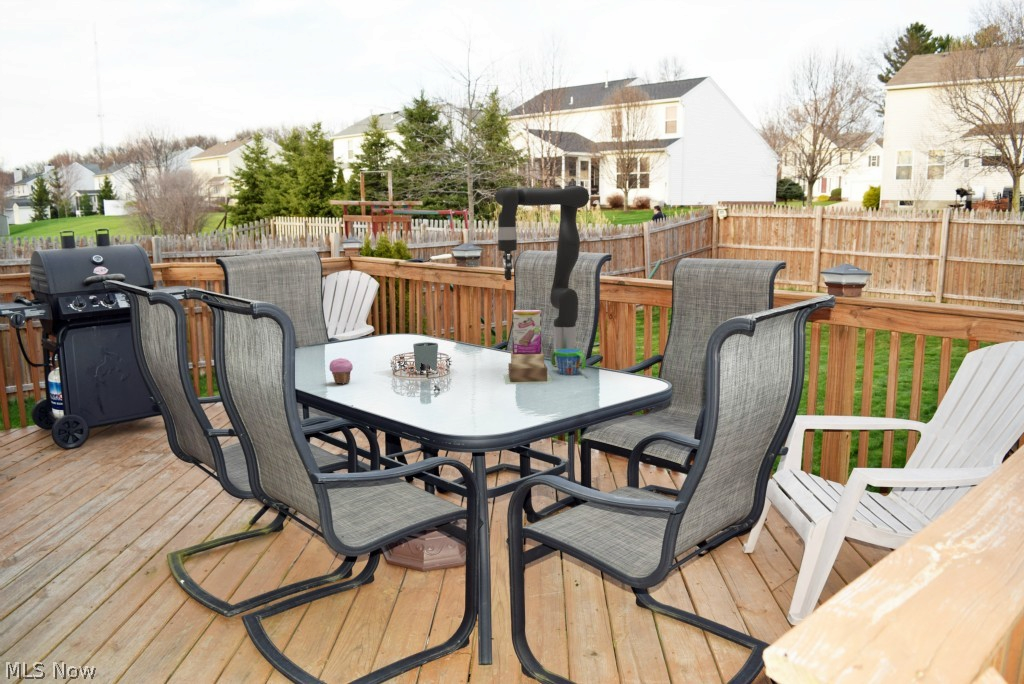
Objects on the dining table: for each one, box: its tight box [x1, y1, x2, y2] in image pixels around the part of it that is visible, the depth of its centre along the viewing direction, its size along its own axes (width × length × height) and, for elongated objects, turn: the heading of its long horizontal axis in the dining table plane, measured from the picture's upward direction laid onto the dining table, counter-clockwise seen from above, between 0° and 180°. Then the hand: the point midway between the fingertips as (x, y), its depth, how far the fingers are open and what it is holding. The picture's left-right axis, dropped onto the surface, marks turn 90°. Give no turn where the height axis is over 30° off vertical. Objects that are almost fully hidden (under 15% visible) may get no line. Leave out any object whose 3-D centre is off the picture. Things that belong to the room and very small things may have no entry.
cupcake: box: [329, 357, 354, 384], centre depth 303 cm, size 9×9×10 cm
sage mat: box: [502, 372, 554, 385], centre depth 302 cm, size 18×18×1 cm
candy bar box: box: [512, 309, 543, 354], centre depth 299 cm, size 11×5×16 cm, turn 87°
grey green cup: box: [412, 341, 439, 371], centre depth 322 cm, size 10×10×12 cm
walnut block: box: [508, 362, 548, 382], centre depth 301 cm, size 14×12×5 cm
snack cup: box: [550, 348, 587, 376], centre depth 311 cm, size 16×10×10 cm
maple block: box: [510, 350, 545, 369], centre depth 301 cm, size 12×10×5 cm
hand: (508, 279), depth 313 cm, fingers open, 8 cm apart
